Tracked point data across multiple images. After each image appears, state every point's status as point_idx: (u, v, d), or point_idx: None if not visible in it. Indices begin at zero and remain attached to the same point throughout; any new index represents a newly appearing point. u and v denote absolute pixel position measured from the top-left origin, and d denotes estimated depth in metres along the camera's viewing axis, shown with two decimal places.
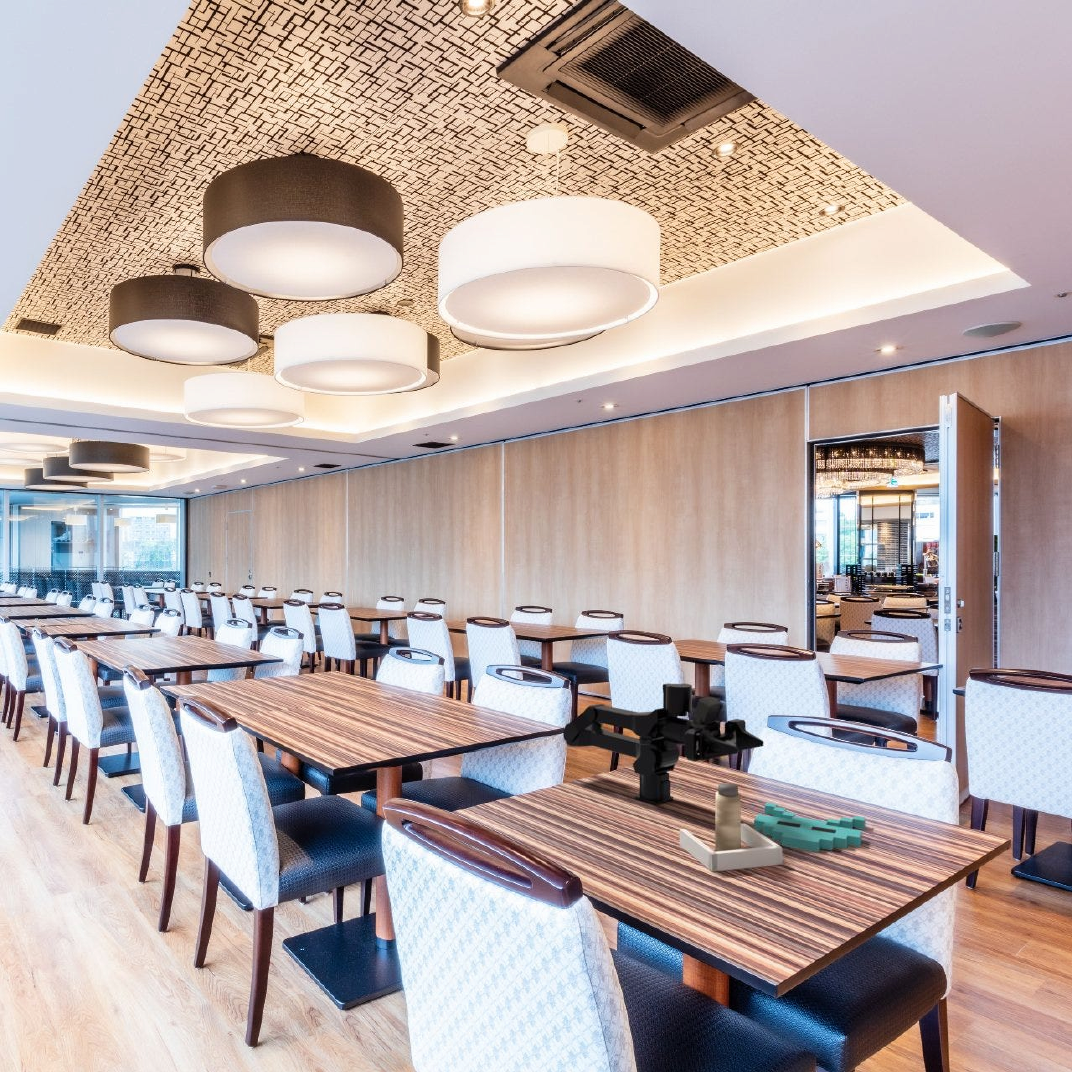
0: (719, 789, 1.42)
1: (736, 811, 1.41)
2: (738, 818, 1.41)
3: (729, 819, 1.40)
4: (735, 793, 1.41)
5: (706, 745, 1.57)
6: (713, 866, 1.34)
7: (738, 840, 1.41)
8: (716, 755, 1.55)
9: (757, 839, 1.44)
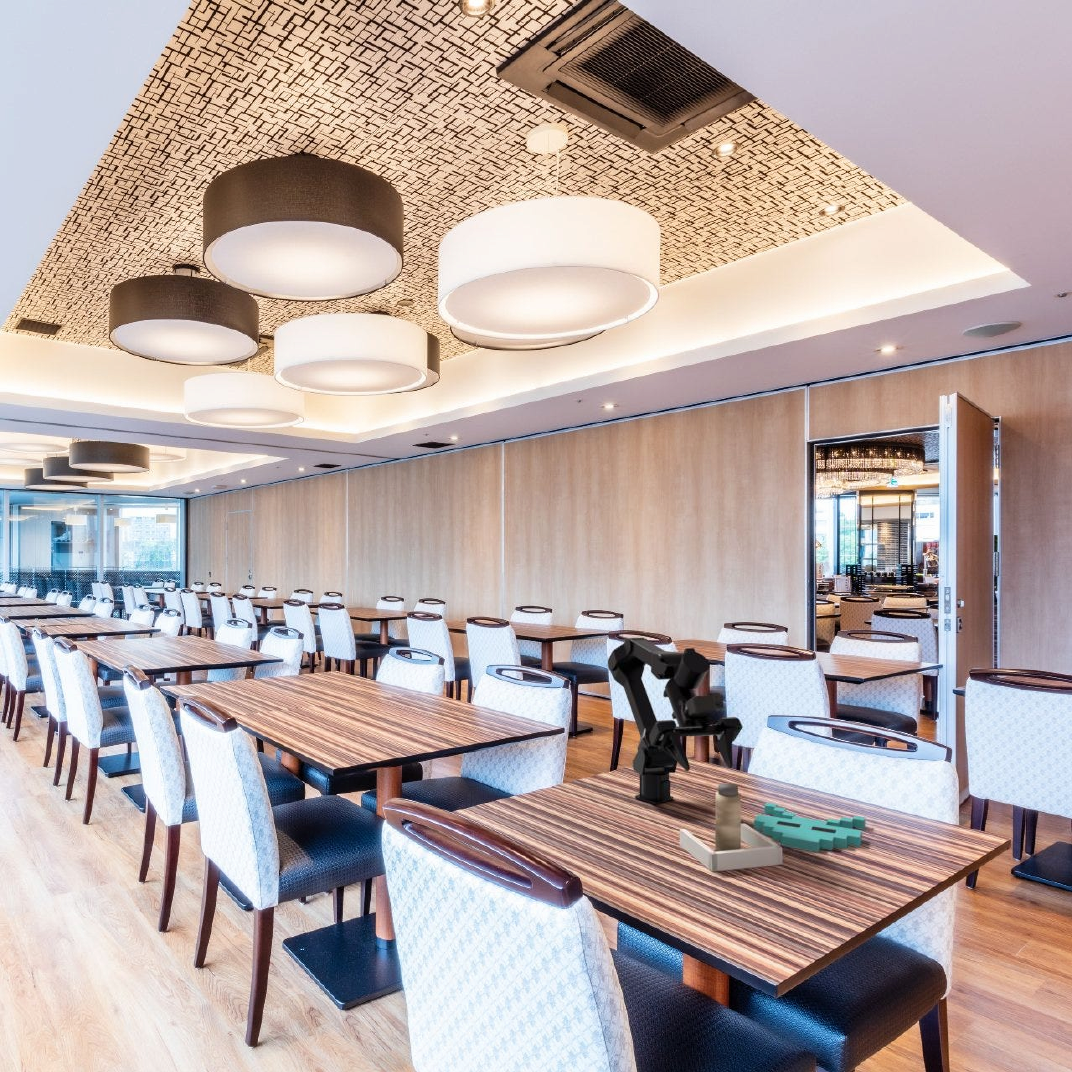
0: (719, 789, 1.42)
1: (736, 811, 1.41)
2: (738, 818, 1.41)
3: (729, 819, 1.40)
4: (735, 793, 1.41)
5: (671, 741, 1.53)
6: (713, 866, 1.34)
7: (738, 840, 1.41)
8: (673, 756, 1.53)
9: (757, 839, 1.44)
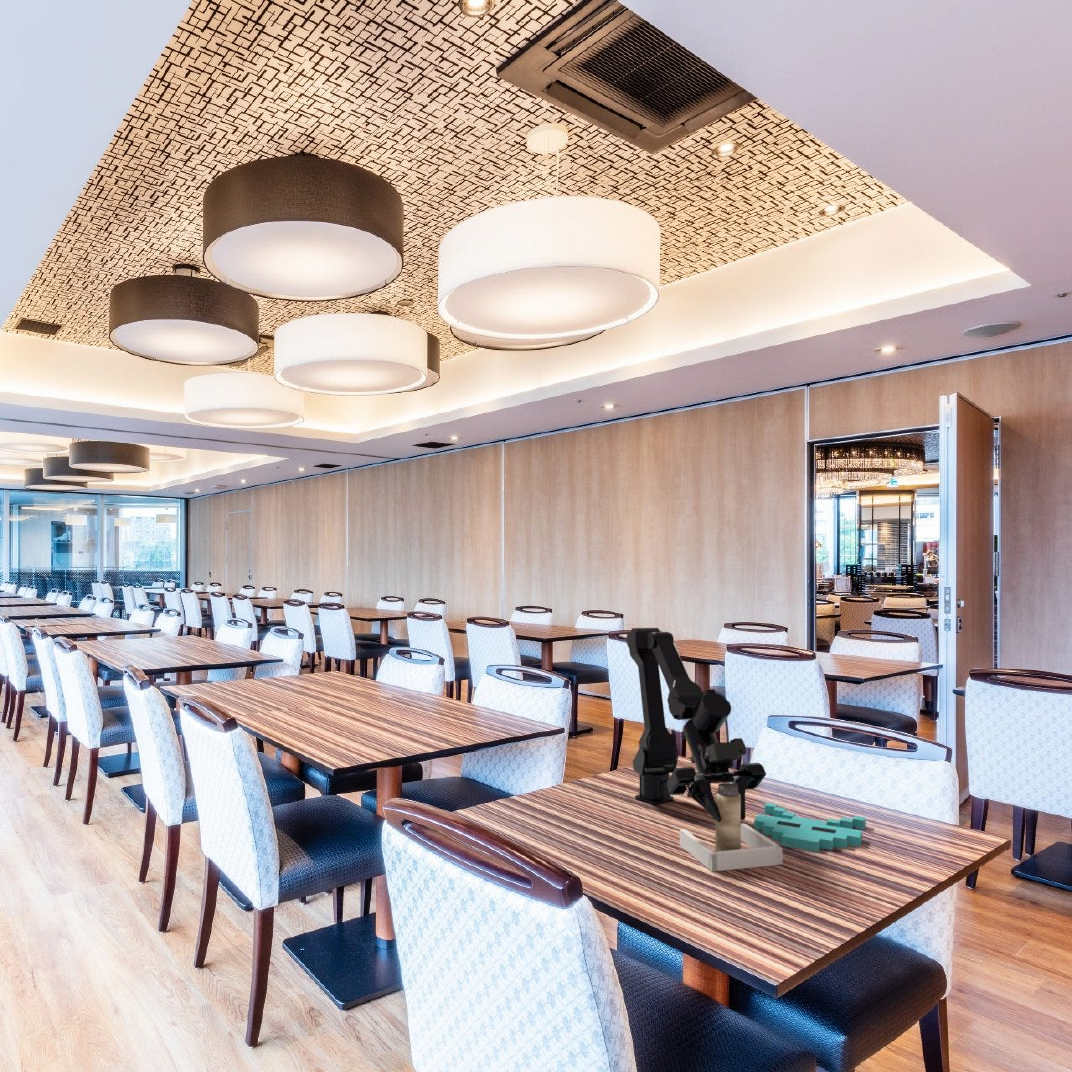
0: (719, 789, 1.42)
1: (736, 811, 1.41)
2: (738, 818, 1.41)
3: (729, 819, 1.40)
4: (735, 793, 1.41)
5: (700, 789, 1.45)
6: (713, 866, 1.34)
7: (738, 840, 1.41)
8: (702, 805, 1.44)
9: (757, 839, 1.44)
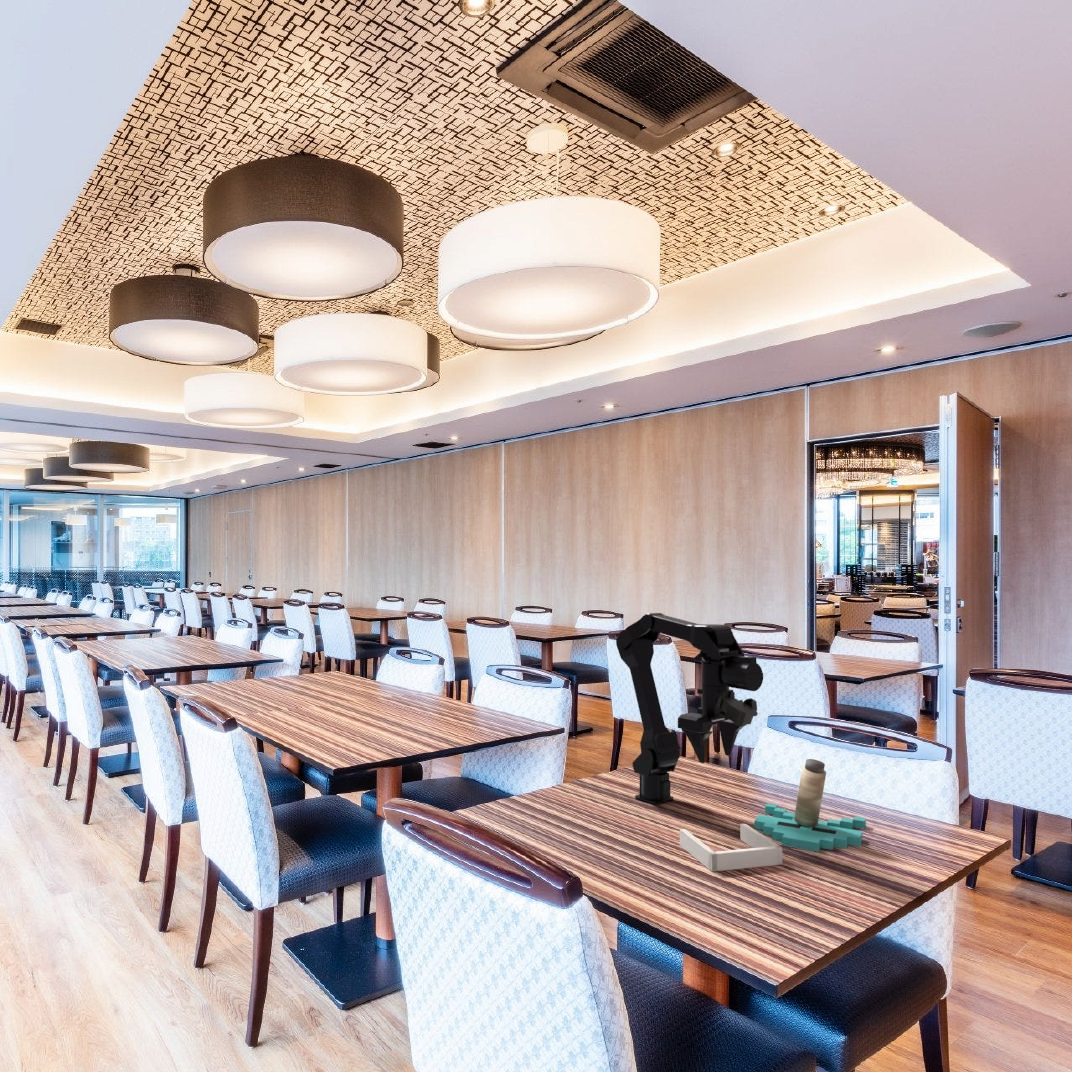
0: (814, 768, 1.52)
1: None
2: None
3: (822, 792, 1.53)
4: None
5: None
6: (713, 866, 1.34)
7: None
8: (691, 742, 1.58)
9: (757, 839, 1.44)
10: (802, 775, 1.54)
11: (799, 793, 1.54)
